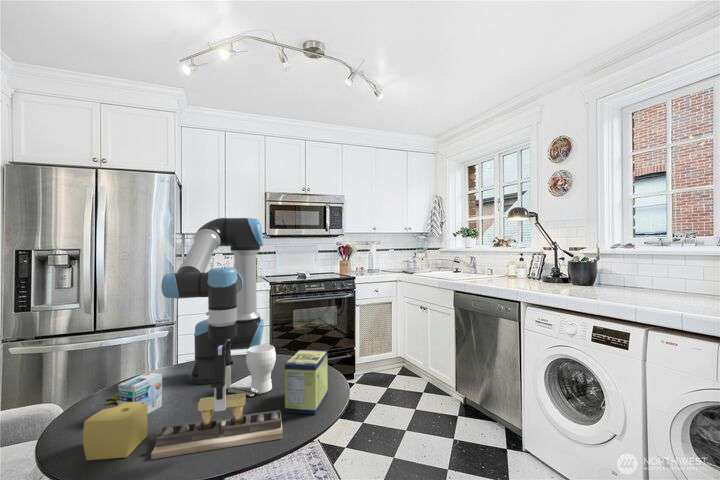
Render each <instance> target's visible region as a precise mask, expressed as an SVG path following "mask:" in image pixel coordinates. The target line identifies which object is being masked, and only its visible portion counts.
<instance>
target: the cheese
mask: <svg viewBox="0 0 720 480" xmlns="http://www.w3.org/2000/svg"><path fill="white" fill-rule="evenodd" d="M148 415H149V414H148V407H147V402H127V403H122V404H120V405H118V404H117V406H114V407H107V408H104V409H102V410H99V411H98V412H96V413H94V414H92V415H91V416H90V417H87V419H85V420H84V423H83V430H82V443H83V452H84V456H85V460H86V461H95V460H96V461H97V460H110V459H122V458H123V459H125V458H127V457H129V455H131V454H132V452H134V450H135V449H136V448H137V447H138V446H139V445H140V444H141V443H142V442H143V441H144V440H145V439H146V438H147V436H148V426H149V425H148V423H149V422H148V420H149V419H148V418H149V417H148Z"/></svg>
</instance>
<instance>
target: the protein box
mask: <svg viewBox="0 0 720 480" xmlns="http://www.w3.org/2000/svg"><path fill="white" fill-rule="evenodd" d="M328 380H329V379H328V350H318V349H316V350H314V349H313V350H312V349H299V350H298V351H297V352H296V353H295V354H294V355H293V356H292V357H291V358H290V359H288V360H287V361H286V362H285V363H284V413H289V414H303V415H304V414H305V415H314V416H315V415H316V414H317V413H318V411H319V409H320V408H321V406H322V405H323V402H324V401H325V399H326V397H327V396H328V394H329V393H328V386H329V385H328V382H329V381H328Z"/></svg>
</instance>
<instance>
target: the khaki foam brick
mask: <svg viewBox="0 0 720 480" xmlns="http://www.w3.org/2000/svg"><path fill="white" fill-rule="evenodd" d="M246 396H247V394H246V392H240V393H233V394H226V408H232V416H233V426H234V425H241V424H243V415H244V406H246V400H247V397H246ZM197 411H198V412H201V421H202V430H207V429H213V419H214V417H213V416H214V396H208V397H201V398H199V401H198V403H197Z"/></svg>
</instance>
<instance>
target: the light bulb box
mask: <svg viewBox="0 0 720 480" xmlns="http://www.w3.org/2000/svg"><path fill="white" fill-rule="evenodd" d="M117 389H118V390H117V394H118V404H117V406H118V405H120V404H122V403H127V402H147V407H148V415H149V414H150V413H152V412H154V411H157V410H158V409H160V408H161V407H163V405H162V404H163V373H153V372H144V373H142V374H140V375H138V376H137V375H136V377H133V378H131V379H128V380H126V381H123V382H121V383H119V384H118V385H117Z"/></svg>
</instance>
